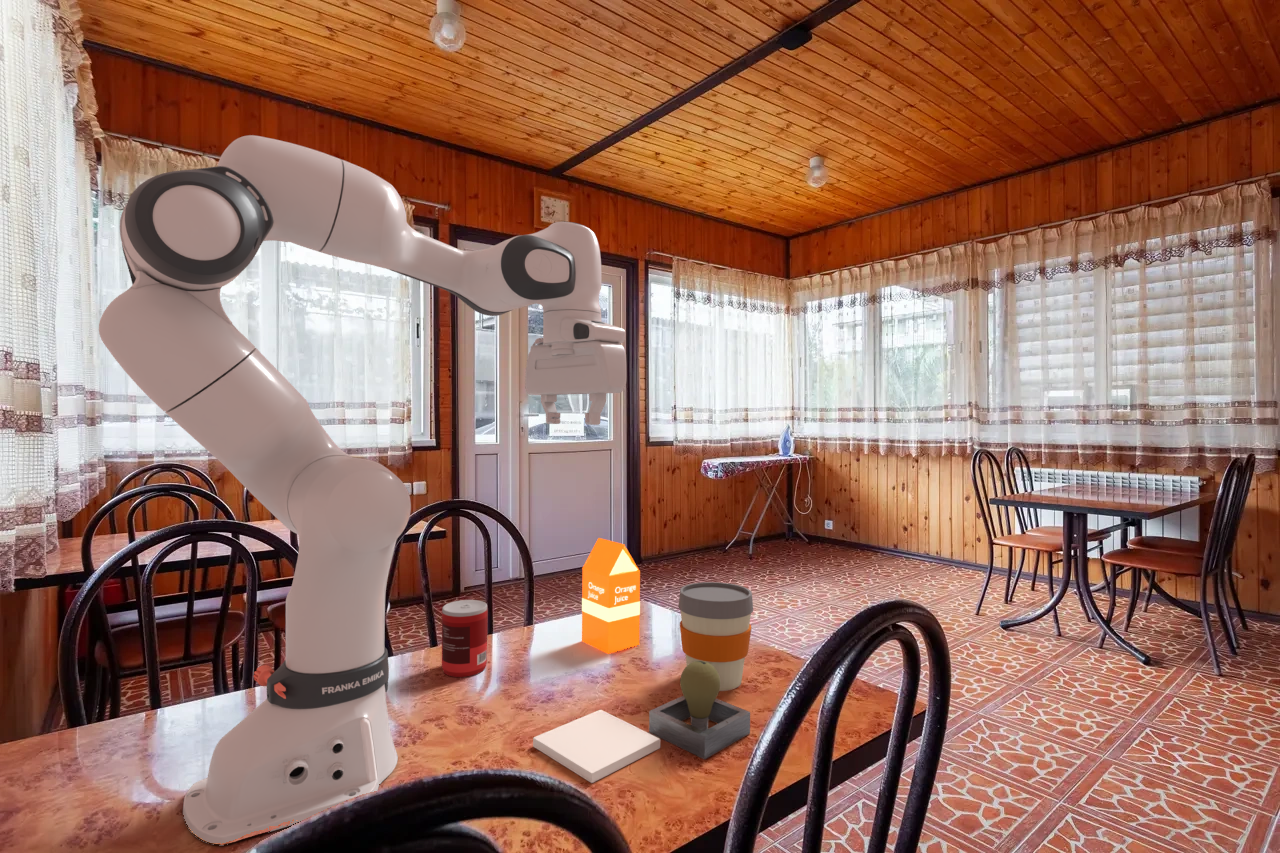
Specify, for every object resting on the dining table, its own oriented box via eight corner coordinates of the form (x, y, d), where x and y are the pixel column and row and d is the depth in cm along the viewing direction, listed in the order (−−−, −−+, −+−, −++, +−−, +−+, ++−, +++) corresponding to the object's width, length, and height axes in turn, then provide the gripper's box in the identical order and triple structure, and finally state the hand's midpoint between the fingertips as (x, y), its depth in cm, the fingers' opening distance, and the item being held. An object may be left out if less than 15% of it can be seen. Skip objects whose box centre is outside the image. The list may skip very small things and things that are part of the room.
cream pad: (591, 783, 78) (592, 773, 78) (533, 746, 86) (533, 737, 86) (660, 747, 86) (660, 738, 86) (600, 717, 95) (600, 709, 95)
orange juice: (612, 633, 132) (613, 535, 131) (640, 645, 125) (641, 542, 124) (580, 641, 127) (581, 539, 126) (607, 654, 120) (608, 547, 119)
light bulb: (719, 724, 93) (720, 655, 93) (720, 744, 87) (721, 670, 87) (680, 722, 93) (681, 653, 93) (678, 741, 88) (679, 668, 88)
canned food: (483, 658, 117) (484, 597, 117) (490, 674, 110) (490, 610, 110) (439, 663, 115) (440, 601, 114) (443, 680, 107) (443, 614, 107)
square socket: (704, 759, 83) (704, 736, 83) (649, 732, 90) (649, 710, 90) (749, 733, 90) (750, 712, 90) (695, 709, 97) (695, 690, 97)
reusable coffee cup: (672, 692, 104) (674, 599, 103) (681, 662, 116) (682, 579, 116) (752, 699, 101) (753, 604, 101) (752, 668, 114) (753, 583, 114)
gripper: (515, 337, 103) (515, 423, 104) (601, 325, 89) (601, 425, 89) (547, 340, 108) (547, 423, 108) (633, 329, 93) (633, 425, 94)
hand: (572, 424), depth 99 cm, fingers open, 8 cm apart
